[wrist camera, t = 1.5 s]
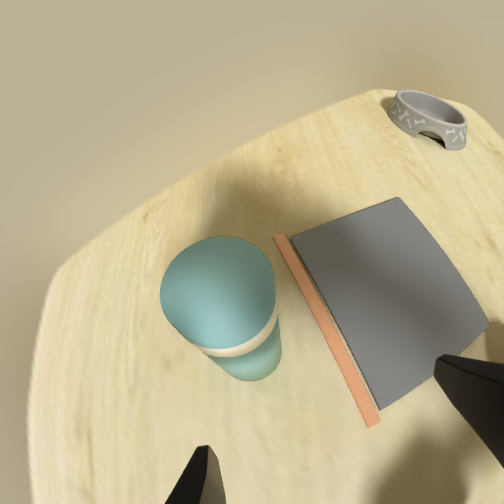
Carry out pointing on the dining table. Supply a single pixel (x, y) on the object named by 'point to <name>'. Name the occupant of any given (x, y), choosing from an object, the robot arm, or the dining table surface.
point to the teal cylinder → (225, 305)
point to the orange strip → (329, 332)
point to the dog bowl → (429, 118)
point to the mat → (391, 295)
